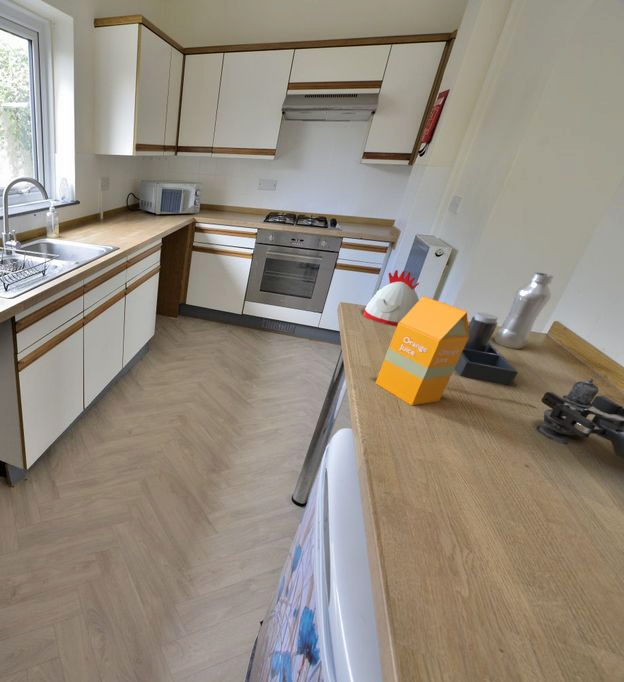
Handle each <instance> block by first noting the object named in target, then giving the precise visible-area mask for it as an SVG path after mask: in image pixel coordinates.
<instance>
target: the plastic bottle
mask: <svg viewBox="0 0 624 682" xmlns="http://www.w3.org/2000/svg"><path fill="white" fill-rule="evenodd" d="M553 279H554V275H552V274H549V273H544V272H533V274H532V277H530V279H529V280H530V281H529V282H527V283H526V284H524V285H523V286H520V287H519V288H518V289H517V290H516V293H515V295H514V299H513V301H512V305H511V307H510V311H509V312H508V315H507V317H506V318H505V319H504V321H503V323H502V324H501V326H500V327H499V328H498V329H497V330H496V332H495V334H494V342H495V343H496V344H498V345H500V346H502V347H505V348H509V349H513V350H514V349H515V350H520V349H522V348H524V347H525V346H526V345H527V343H528V342H529V339H530V335H531V331H532V329H533V327H534V324H535V322H536V320H537V318H538V317H539V315H540V314H541V311H542V310H543V309H544V308H545V306H546V305H547V304H548V302H549V301H550V300H551V295H552V294H551V290H550V287H549V285H550V284H552V281H553Z"/></svg>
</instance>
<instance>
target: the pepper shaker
mask: <svg viewBox="0 0 624 682" xmlns="http://www.w3.org/2000/svg"><path fill="white" fill-rule="evenodd" d="M498 319H499V318H498V316H496V315H493V314H491V313H486V312H476V314H475V316H472V317H471V319H470V322H468V330H469V338H468V340H467V343H466V345H465V347H464V348H466V349H471V350H477V351H482V352H484V351H485V349H486V346H487V344H488V342H490V341H491V339H492V337H493V334H494V332H495V330H496V329H497V326H498V324H499V323H498V322H497V321H498Z"/></svg>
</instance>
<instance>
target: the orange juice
mask: <svg viewBox="0 0 624 682" xmlns="http://www.w3.org/2000/svg"><path fill="white" fill-rule="evenodd" d="M468 319H469V318H468V311H467V310H465V309H462V308H459V307H456V306H453V305H450V304H447V303H446V302H445V303H444V302H442V301H439V300H436V299H433V298H430V297H427V296H425V295H422V297H420V299H419V301H418V302H417V303H416V305H415V306H414V307H413V308H412V309H411V310H410V311H409V312H408V313H407V314H406V316H405V317H404V318H403V319H402V320H401V321H400V322H399V323H398V325H397V326H396V328H395V330H394V333H393V335H392V338H391V341H390V344H389V346H388V348H387V351H386V354H385V355H384V360H383V361H382V365H381V366H380V367H381V368H380V370H379V373H378V375H377V377H376V381H375V385H377V386H379V387H381V388H382V389H384V390H385V391H387V392H389V393H391V394H392V395H394V396H395V397H397V398H399V399H400V400H402V401H404V402H405V403H406V404H408V405H410V406H417V405H422V404H428V403H435V402H440V400H441V398H442V396H443V394H444V391H445V390H446V387H447V385H448V383H449V381H450V379H451V377H452V375H453V373H454V371H455V370H456V369H455V367H456V364H457V362H458V360H459V357H460V355H461V353H462V351H463V349H464V347H465V345H466V343H467V340H468V338H469V330H468V326H469V321H468Z"/></svg>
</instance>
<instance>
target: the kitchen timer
mask: <svg viewBox="0 0 624 682" xmlns="http://www.w3.org/2000/svg"><path fill="white" fill-rule="evenodd" d="M405 273H406V271H405V270H403V271H401V273H400V275H399V270H398V269H396V270H394V273H393V275H392V272H389V273H388V281H389V283H388V284H386V285H384V286H383V287H381V288H380V289H378V290H376V292H375V293H374V295H373V296H372V298H371V299H370V301H368V303H367V304H366V305H365V308H364V311H363V316H364V318H366V319H367V320H370V319H371V320H373V321H376V322H378V323H382V324H385V325H388V326H394V327H397V325H398V323H399V322H400V321H401V320H402V319H403V318H404V317H405V316H406V314H407V313H408V312H409V311H410V310H411V309H412V308H413V307H414V306H415V305H416V303H417V302H418V301H419V300H420V299H419V295H418V293H417V291H416V290H415V288H416V287H418V286H419V284H420V282H417V283H415V284H414V285H413V283H414V281H415V279H416V277H411V271H409V272H407V274H406V275H405ZM410 277H411V279H410Z"/></svg>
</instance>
